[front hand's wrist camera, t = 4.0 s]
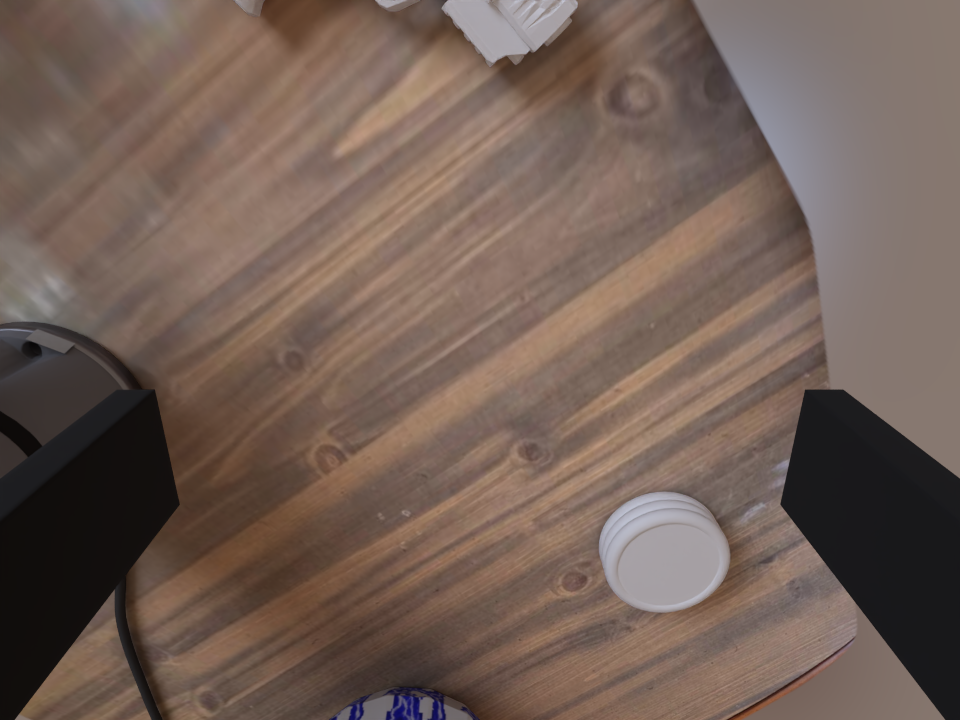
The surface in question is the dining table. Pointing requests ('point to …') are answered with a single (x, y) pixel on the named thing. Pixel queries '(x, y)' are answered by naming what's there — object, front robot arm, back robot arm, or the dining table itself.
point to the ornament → (405, 706)
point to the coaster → (663, 552)
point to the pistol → (490, 23)
